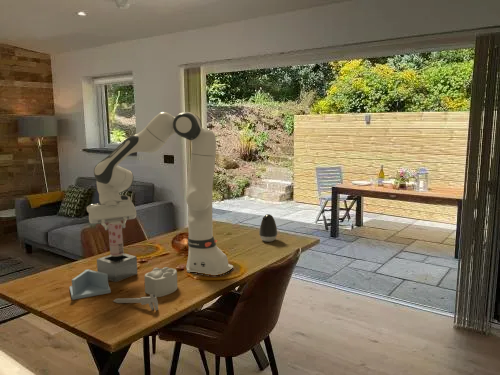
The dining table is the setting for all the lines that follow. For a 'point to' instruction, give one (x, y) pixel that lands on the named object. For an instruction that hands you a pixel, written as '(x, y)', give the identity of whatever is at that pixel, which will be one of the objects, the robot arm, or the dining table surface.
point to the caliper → (140, 301)
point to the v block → (89, 284)
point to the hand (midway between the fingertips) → (115, 228)
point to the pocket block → (117, 266)
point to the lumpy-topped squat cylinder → (161, 281)
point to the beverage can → (116, 238)
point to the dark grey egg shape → (268, 228)
